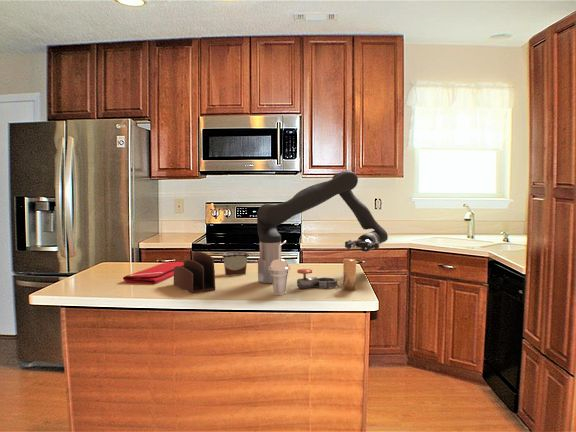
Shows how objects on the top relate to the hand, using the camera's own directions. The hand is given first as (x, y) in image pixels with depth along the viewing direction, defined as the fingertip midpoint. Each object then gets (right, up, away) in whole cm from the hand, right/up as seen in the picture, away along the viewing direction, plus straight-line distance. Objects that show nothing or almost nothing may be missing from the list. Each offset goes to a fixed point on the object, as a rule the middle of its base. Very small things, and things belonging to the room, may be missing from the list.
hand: (357, 247), depth 209 cm
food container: (-54, -14, +23) cm, 61 cm away
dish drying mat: (-88, -15, +22) cm, 92 cm away
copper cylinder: (-5, -16, -9) cm, 19 cm away
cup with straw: (-32, -17, -16) cm, 40 cm away
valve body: (-17, -16, -4) cm, 24 cm away
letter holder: (-68, -17, -5) cm, 70 cm away
